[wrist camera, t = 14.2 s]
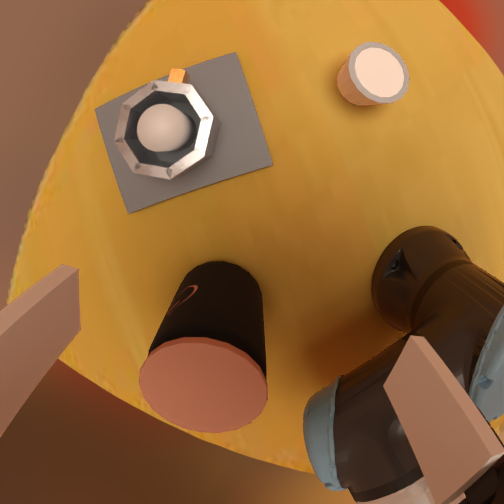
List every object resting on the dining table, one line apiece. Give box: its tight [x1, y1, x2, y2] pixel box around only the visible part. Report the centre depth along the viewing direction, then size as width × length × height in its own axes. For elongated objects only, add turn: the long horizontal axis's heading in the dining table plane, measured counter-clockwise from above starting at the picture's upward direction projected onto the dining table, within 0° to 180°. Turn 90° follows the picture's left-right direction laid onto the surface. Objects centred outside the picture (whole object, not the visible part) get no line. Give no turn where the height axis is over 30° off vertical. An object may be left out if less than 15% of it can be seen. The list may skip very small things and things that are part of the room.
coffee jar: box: [139, 262, 268, 433], centre depth 31 cm, size 11×11×18 cm
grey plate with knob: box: [95, 52, 273, 214], centre depth 29 cm, size 18×14×8 cm
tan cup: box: [336, 42, 409, 106], centre depth 28 cm, size 7×7×7 cm
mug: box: [114, 69, 221, 180], centre depth 29 cm, size 10×9×7 cm
